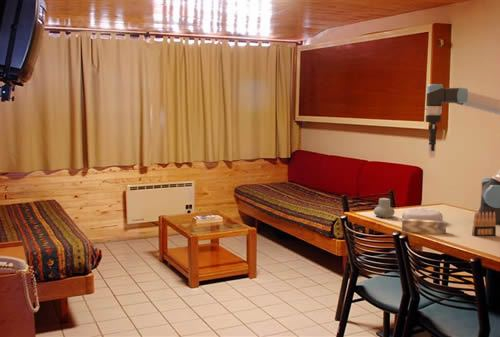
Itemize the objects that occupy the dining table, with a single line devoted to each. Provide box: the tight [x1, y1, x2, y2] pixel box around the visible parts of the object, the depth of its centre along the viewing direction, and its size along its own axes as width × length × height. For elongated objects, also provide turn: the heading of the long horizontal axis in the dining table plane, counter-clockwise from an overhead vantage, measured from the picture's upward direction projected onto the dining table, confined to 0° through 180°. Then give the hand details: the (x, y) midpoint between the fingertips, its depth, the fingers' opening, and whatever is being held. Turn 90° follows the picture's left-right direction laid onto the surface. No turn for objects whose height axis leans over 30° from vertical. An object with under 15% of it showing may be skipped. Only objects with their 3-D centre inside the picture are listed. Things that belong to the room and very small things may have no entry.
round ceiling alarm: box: [400, 207, 444, 221], centre depth 286 cm, size 25×25×6 cm
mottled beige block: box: [401, 219, 447, 235], centre depth 263 cm, size 20×4×6 cm, turn 74°
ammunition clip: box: [471, 211, 497, 237], centre depth 255 cm, size 11×2×12 cm, turn 94°
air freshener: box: [373, 197, 395, 219], centre depth 297 cm, size 11×8×10 cm
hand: (431, 156), depth 281 cm, fingers open, 13 cm apart
